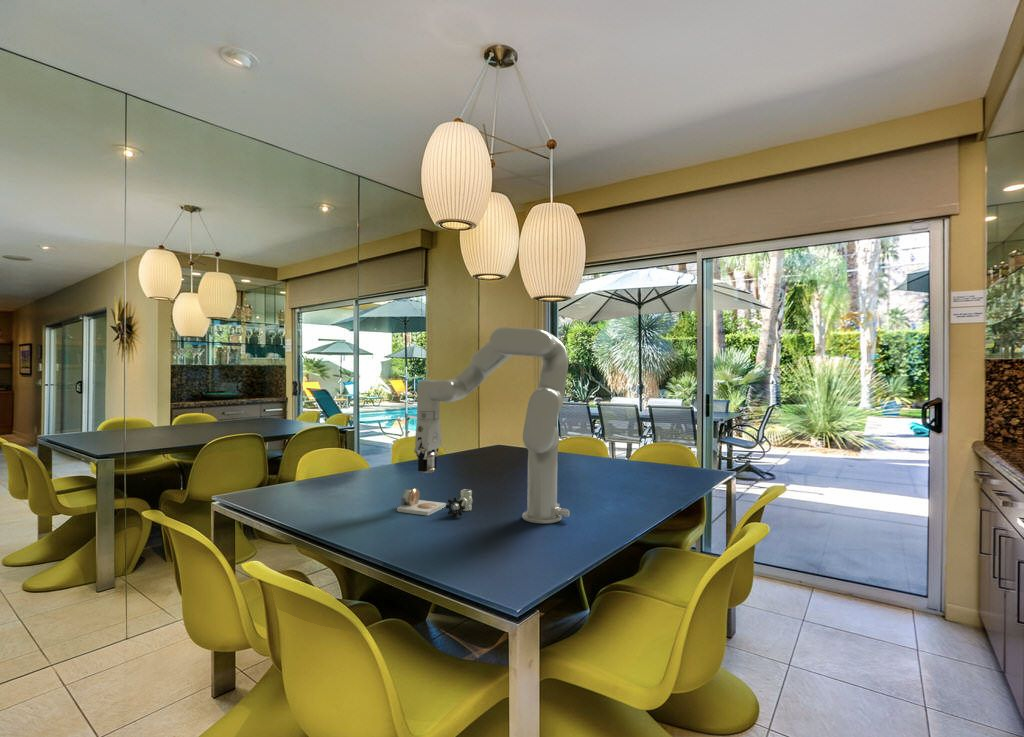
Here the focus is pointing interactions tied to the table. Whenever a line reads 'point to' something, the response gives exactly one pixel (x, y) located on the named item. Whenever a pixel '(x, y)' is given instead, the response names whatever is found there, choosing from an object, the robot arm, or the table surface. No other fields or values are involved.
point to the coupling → (430, 461)
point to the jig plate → (422, 507)
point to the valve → (461, 503)
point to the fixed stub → (410, 497)
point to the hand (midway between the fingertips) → (427, 469)
